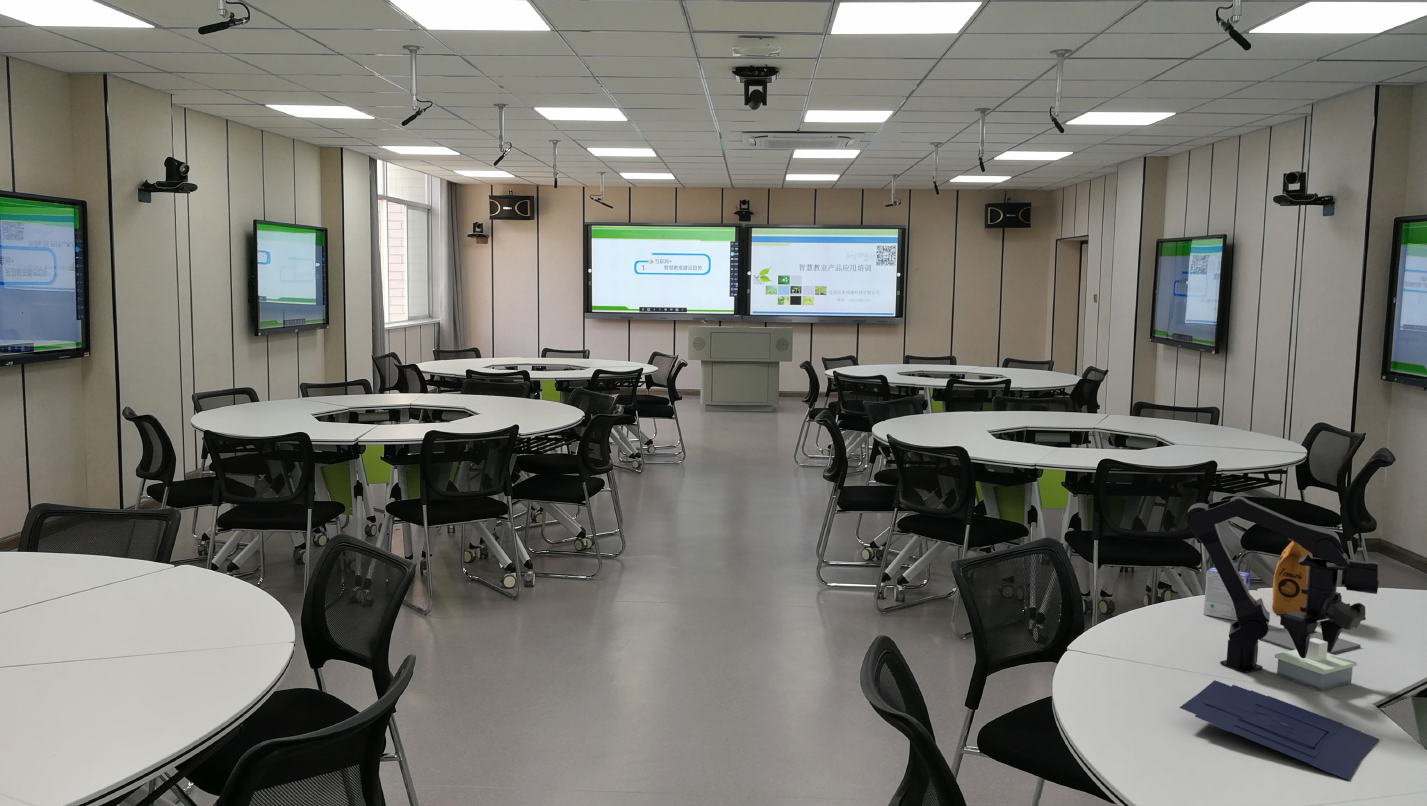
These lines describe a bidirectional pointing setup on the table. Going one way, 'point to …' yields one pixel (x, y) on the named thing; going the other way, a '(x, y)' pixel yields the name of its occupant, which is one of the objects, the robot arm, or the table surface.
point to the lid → (1317, 658)
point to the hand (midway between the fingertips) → (1315, 654)
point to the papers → (1282, 727)
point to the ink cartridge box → (1220, 595)
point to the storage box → (1314, 676)
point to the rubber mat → (1285, 640)
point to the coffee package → (1290, 580)
